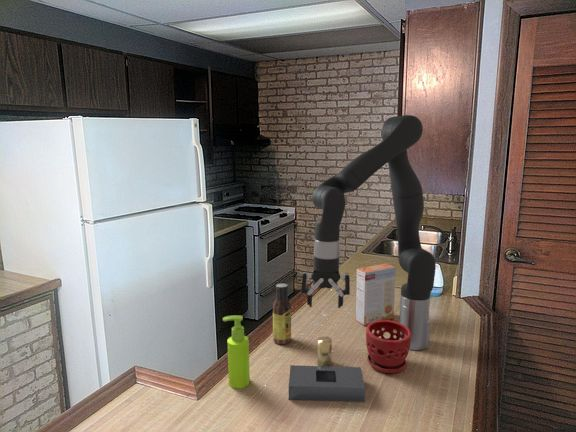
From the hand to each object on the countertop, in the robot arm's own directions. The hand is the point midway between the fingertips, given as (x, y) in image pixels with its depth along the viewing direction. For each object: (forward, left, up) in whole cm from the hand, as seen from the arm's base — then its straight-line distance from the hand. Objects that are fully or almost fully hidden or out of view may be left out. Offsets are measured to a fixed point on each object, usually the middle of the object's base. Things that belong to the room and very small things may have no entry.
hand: (324, 306), depth 124 cm
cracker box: (-20, -32, -19) cm, 42 cm away
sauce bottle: (+14, -14, -19) cm, 27 cm away
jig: (0, +13, -19) cm, 23 cm away
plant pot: (-19, 0, -19) cm, 27 cm away
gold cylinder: (0, 0, -19) cm, 19 cm away
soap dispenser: (+25, +11, -19) cm, 33 cm away
